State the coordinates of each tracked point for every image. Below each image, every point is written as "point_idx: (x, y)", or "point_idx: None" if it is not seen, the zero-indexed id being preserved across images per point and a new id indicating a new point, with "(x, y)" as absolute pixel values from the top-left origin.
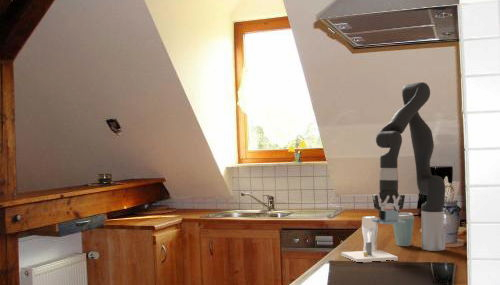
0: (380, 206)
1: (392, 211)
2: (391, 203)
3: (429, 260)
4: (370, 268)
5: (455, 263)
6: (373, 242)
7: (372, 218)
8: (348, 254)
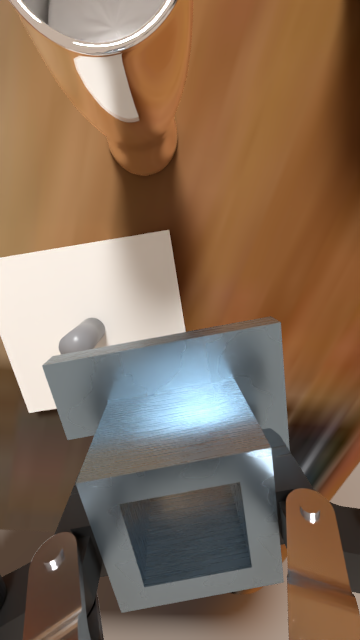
0: (49, 618)
1: (208, 592)
2: (289, 634)
3: (303, 386)
4: (69, 480)
5: (357, 436)
6: (149, 152)
7: (108, 56)
8: (4, 321)
